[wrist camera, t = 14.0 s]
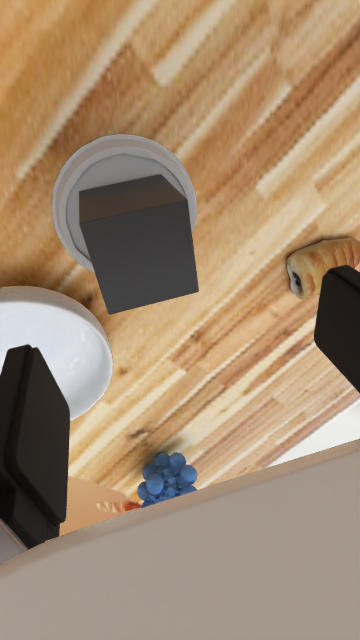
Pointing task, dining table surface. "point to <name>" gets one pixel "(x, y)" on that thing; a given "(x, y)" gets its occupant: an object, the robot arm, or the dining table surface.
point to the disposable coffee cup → (111, 181)
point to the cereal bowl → (58, 341)
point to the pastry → (320, 264)
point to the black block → (139, 242)
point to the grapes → (166, 479)
